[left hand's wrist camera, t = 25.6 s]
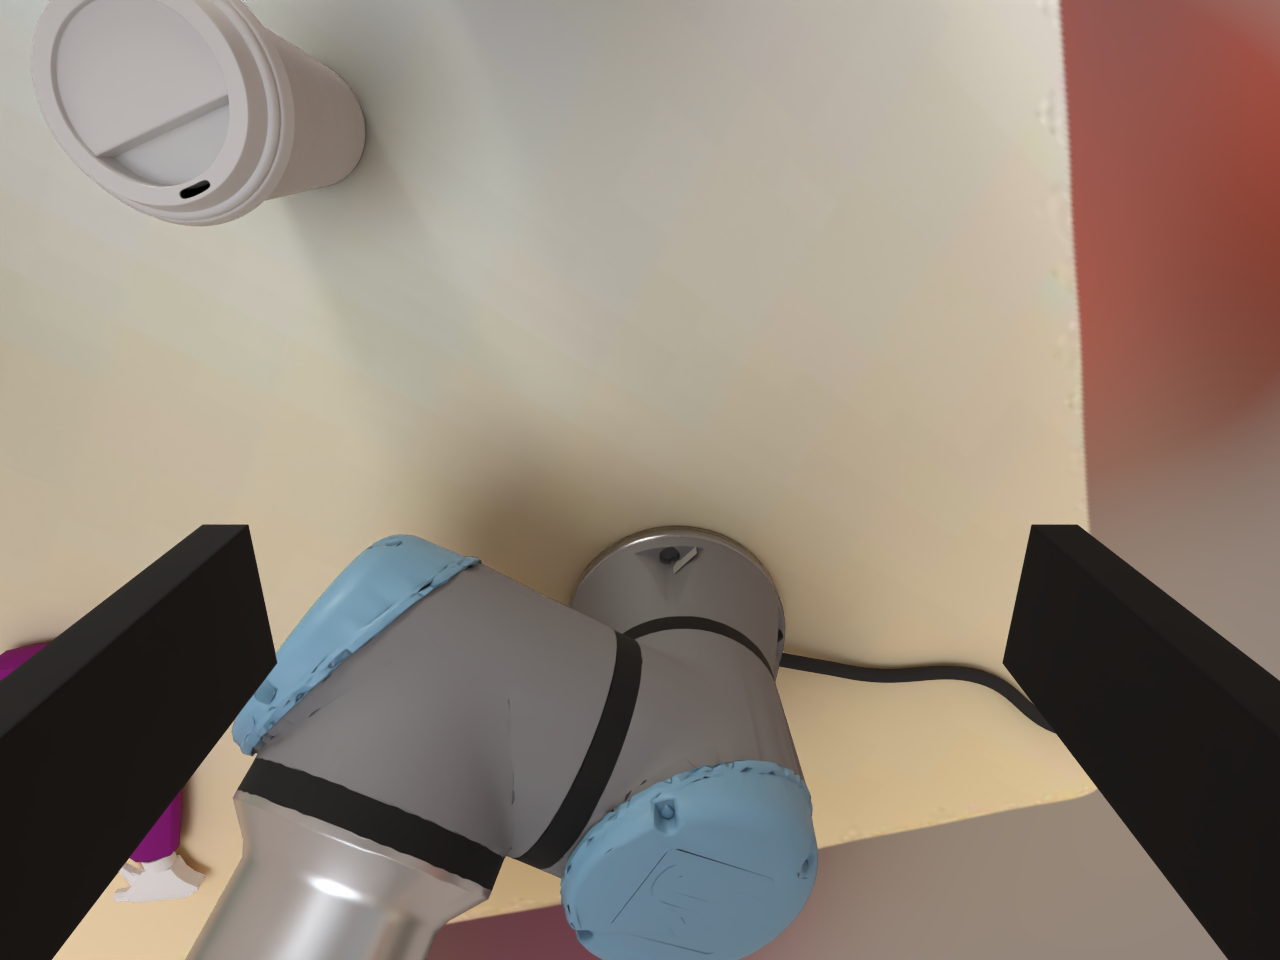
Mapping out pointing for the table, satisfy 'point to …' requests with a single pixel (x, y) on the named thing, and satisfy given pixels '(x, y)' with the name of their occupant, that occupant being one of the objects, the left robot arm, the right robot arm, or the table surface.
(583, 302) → the table surface
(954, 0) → the table surface
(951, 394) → the table surface
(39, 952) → the left robot arm
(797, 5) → the table surface
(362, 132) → the coffee cup
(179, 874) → the spray bottle
